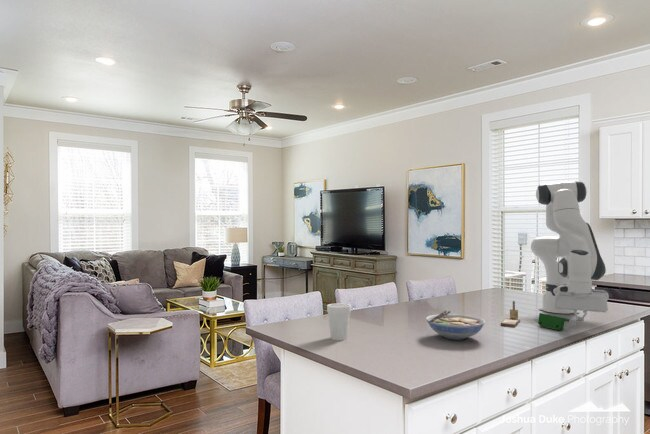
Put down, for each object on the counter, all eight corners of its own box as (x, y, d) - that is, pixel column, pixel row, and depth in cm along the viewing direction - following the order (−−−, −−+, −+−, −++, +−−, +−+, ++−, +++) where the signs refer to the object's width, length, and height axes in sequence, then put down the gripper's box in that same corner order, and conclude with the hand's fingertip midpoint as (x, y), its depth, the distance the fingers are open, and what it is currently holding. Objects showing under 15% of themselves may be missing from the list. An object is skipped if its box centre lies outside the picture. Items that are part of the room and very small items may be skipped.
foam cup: (322, 337, 184) (322, 304, 185) (342, 334, 189) (342, 302, 189) (335, 342, 176) (335, 308, 176) (355, 339, 181) (355, 306, 181)
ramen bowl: (476, 349, 167) (476, 326, 167) (416, 340, 179) (416, 319, 179) (492, 335, 188) (491, 315, 188) (437, 328, 200) (437, 309, 200)
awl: (510, 319, 221) (510, 300, 221) (518, 319, 219) (518, 300, 219) (509, 320, 217) (509, 301, 218) (517, 321, 216) (517, 302, 216)
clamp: (563, 339, 199) (574, 321, 197) (554, 337, 197) (564, 319, 194) (543, 323, 210) (553, 306, 207) (534, 321, 207) (544, 304, 205)
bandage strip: (506, 320, 217) (505, 317, 217) (519, 321, 214) (519, 319, 214) (500, 325, 206) (500, 322, 206) (514, 327, 203) (514, 324, 203)
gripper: (608, 289, 194) (609, 322, 194) (554, 286, 205) (554, 317, 204) (608, 290, 189) (609, 324, 188) (553, 287, 199) (553, 319, 199)
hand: (580, 320), depth 197 cm, fingers closed
